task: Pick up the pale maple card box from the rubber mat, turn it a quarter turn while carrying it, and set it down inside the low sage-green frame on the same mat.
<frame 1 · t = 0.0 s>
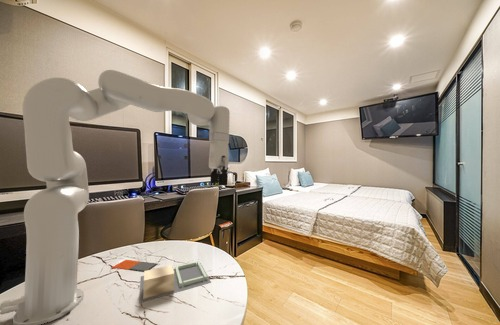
hand: (218, 183, 71), 31 cm above the table, tool pointing down, fingers open, 9 cm apart
mat: (175, 280, 61), on the table
phone: (135, 269, 70), on the table
card box: (158, 289, 56), resting on mat
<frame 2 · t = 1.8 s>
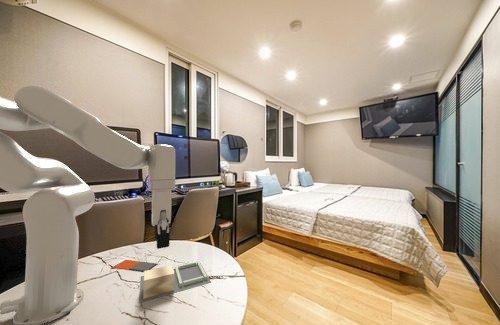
hand: (162, 241, 57), 15 cm above the table, tool pointing down, fingers open, 9 cm apart
nothing on the table moved.
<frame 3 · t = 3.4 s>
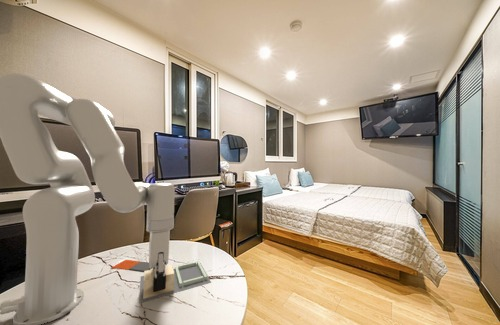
hand: (158, 283, 57), 2 cm above the table, tool pointing down, fingers closed on card box, 5 cm apart
card box: (158, 289, 56), resting on mat, touching gripper
everything else where it was.
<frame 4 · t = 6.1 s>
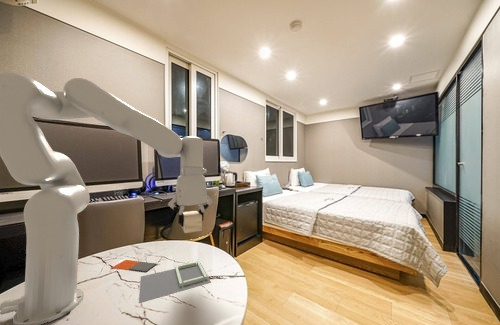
hand: (191, 223, 65), 18 cm above the table, tool pointing down, fingers closed on card box, 5 cm apart
card box: (191, 228, 65), point 16 cm above the table, touching gripper
everything else where it was.
when the fingers open (4 cm above the table, at t = 9.1 s): card box drops 2 cm, resting on mat.
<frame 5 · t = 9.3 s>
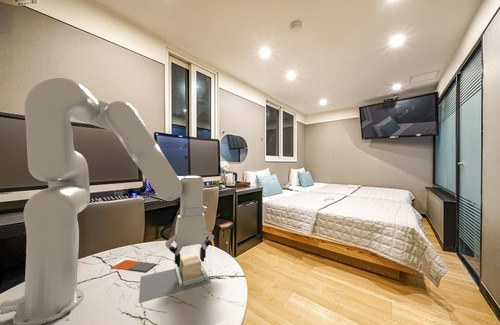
hand: (190, 262, 65), 4 cm above the table, tool pointing down, fingers open, 7 cm apart
card box: (190, 274, 65), resting on mat
everything else where it was.
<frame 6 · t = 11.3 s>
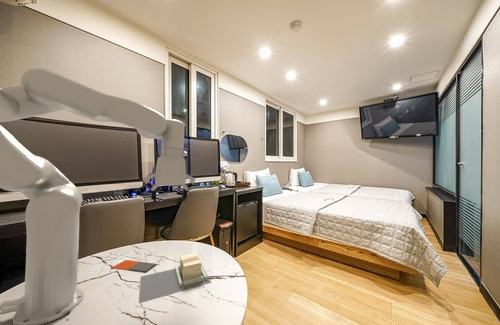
hand: (169, 201, 68), 25 cm above the table, tool pointing down, fingers open, 9 cm apart
nothing on the table moved.
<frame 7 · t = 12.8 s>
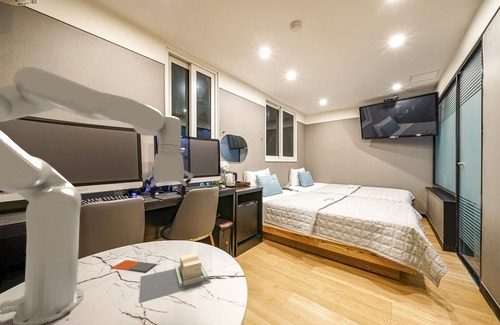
hand: (168, 197, 68), 26 cm above the table, tool pointing down, fingers open, 9 cm apart
nothing on the table moved.
at the end: card box 0.1 cm from the target spot on the mat, point 0.5 cm above the mat's base; card box tilted 0°; the gripper is holding nothing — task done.
